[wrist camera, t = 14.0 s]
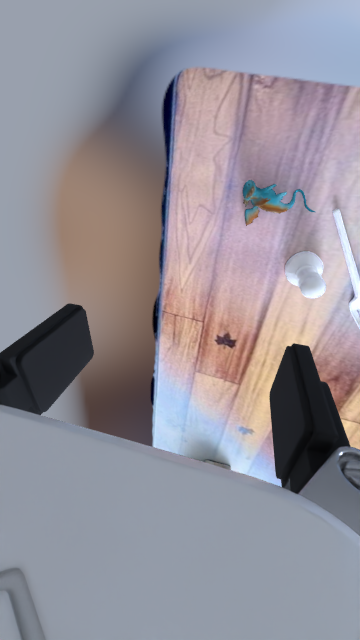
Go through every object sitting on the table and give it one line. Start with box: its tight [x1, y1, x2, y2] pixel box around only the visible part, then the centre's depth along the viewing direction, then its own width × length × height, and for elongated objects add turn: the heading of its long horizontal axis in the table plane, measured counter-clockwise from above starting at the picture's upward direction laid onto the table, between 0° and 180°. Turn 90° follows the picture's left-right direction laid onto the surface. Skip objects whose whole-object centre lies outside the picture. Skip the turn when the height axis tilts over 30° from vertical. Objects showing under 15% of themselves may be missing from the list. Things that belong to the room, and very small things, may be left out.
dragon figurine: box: [243, 180, 315, 226], centre depth 31 cm, size 7×7×8 cm
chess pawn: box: [285, 251, 326, 298], centre depth 33 cm, size 5×5×9 cm
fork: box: [333, 208, 360, 328], centre depth 34 cm, size 3×20×2 cm, turn 30°
